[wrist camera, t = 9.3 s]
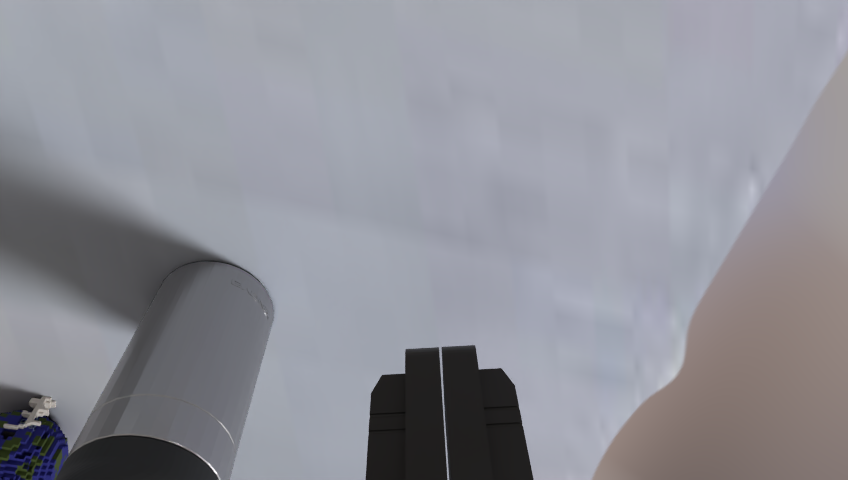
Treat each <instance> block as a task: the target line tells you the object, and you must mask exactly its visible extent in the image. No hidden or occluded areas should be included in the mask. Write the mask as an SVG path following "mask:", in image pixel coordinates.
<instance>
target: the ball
mask: <svg viewBox="0 0 848 480" xmlns="http://www.w3.org/2000/svg"><path fill="white" fill-rule="evenodd" d="M29 405H30V407H32V408H34V410H33V411H32V412H29V411H26V410H23V411H22V410H20V411H13V412H9V413H8V412H7V413H1V414H0V480H55V479H56V477H57V475H58V474H59V472H60V470H61V468H62V466H63V464H64V462H65V461H66V459H67V457H68V444H67V438H65V434H63V433H62V430H60V427H58V424H55V422H53V421H51V420H49V418H48V417H45V416H49V409H50V408H51V407H52V408H56V401H53V400H51V397H45V396H42V398H41V399H37V398H31V400H30V401H29ZM44 415H45V416H44Z"/></svg>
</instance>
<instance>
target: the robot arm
mask: <svg viewBox="0 0 848 480" xmlns="http://www.w3.org/2000/svg"><path fill="white" fill-rule="evenodd" d="M273 318H274V309H273V304H272V300H271V298H270V296H269V294H268V292H267V291H266V289H265V288H264V287H263V286H262V284H261V283H260V282H259V281H258V280H256V279H255V278H254V277H253V276H252V275H250V274H249V273H247V272H245V271H243V270H242V269H240V268H237V267H234V266H232V265H229V264H224V263H219V262H206V261H203V262H196V263H190V264H188V265H185V266H182V267H180V268H178V269H177V270H175V271H173V272H172V273H171V274H170V275H169V276H168V277H167V278H166V279H165V280H164V281H163V283H162V285H161V287H160V289H159V290H158V292H157V294H156V296H155V298H154V300H153V301H152V303H151V305H150V307H149V308H148V310H147V312H146V314H145V315H144V317H143V319H142V321H141V323H140V325H139V326H138V328H137V330H136V332H135V334H134V336H133V337H132V339H131V341H130V343H129V345H128V347H127V348H126V350H125V352H124V354H123V356H122V358H121V359H120V361H119V363H118V365H117V367H116V369H115V370H114V372H113V374H112V376H111V378H110V380H109V381H108V383H107V385H106V387H105V389H104V391H103V392H102V394H101V396H100V398H99V400H98V401H97V403H96V405H95V407H94V409H93V411H92V412H91V414H90V416H89V418H88V420H87V422H86V424H85V426H84V428H83V429H82V431H81V433H80V435H79V437H78V439H77V440H76V442H75V444H74V446H73V448H72V450H71V451H70V453H69V455H68V457H67V459H66V461H65V462H64V464H63V466H62V468H61V470H60V472H59V474H58V475H57V477H56V479H55V480H230V476H231V473H232V469H233V465H234V461H235V457H236V454H237V450H238V446H239V443H240V439H241V436H242V432H243V428H244V425H245V421H246V417H247V414H248V410H249V406H250V403H251V399H252V396H253V392H254V388H255V385H256V381H257V377H258V374H259V370H260V366H261V363H262V359H263V356H264V352H265V349H266V345H267V341H268V338H269V334H270V330H271V327H272V323H273ZM442 364H443V385H444V405H445V422H446V437H447V452H448V467H449V480H533V475H532V470H531V465H530V460H529V455H528V450H527V445H526V440H525V435H524V430H523V426H522V420H521V415H520V410H519V404H518V399H517V394H516V389H515V385H514V384H513V383H512V381H511V380H510V379H509V377H508V376H507V375H506V374H505V372H504V371H503V370H502V369H501V368H499V369H481V370H479V369H478V361H477V354H476V348H475V345H471V346H452V347H442ZM366 480H447V467H446V452H445V436H444V420H443V405H442V389H441V374H440V358H439V347H437V348H419V349H406V352H405V374H392V375H382V376H381V378H380V379H379V381H378V383H377V385H376V386H375V388H374V390H373V391H372V393H371V404H370V420H369V436H368V452H367V468H366Z"/></svg>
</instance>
